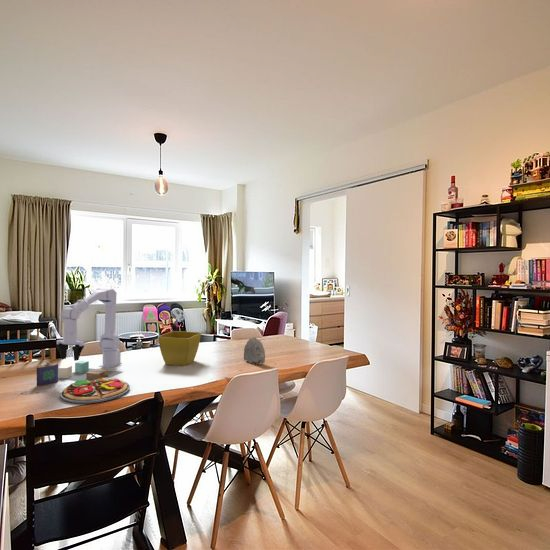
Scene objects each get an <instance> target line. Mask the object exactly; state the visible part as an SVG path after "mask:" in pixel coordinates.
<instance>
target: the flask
mask: <svg viewBox="0 0 550 550" xmlns="http://www.w3.org/2000/svg"><path fill="white" fill-rule="evenodd" d="M58 368H59V364H58V363H51V362H50V361H46V363H45V364H43V365H40V366H37V367H36V386H37V387H42V386H48V385H51V384H56V383H58V382H59V379H58Z"/></svg>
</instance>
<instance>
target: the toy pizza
mask: <svg viewBox="0 0 550 550" xmlns="http://www.w3.org/2000/svg"><path fill="white" fill-rule="evenodd" d="M130 389H131V385H130V384H129V383H127V382H126V381H124V380H122V379H118V378H114V377H110V378H102V379H97V380H93V381H88V380H78V381H74V382H73V383H71V384H69V385H67V386H66V387H65V388H64V389H63V390H62V391H61V392H60V394H59V395H60V398H61V399H63V400H64V401H65V402H68V403H73V404H93V403H101V402H105V401H106V402H107V401H110V400H111V401H112V400H114V399H117V398H119V397H121V396H123V395H125V394H126V393H127V392H128V391H129V390H130Z"/></svg>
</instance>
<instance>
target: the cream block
mask: <svg viewBox="0 0 550 550" xmlns="http://www.w3.org/2000/svg"><path fill="white" fill-rule="evenodd" d="M72 373H73V365H61V366H58V378H68V377H70V376H72Z"/></svg>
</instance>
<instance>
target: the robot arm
mask: <svg viewBox="0 0 550 550" xmlns="http://www.w3.org/2000/svg"><path fill="white" fill-rule="evenodd" d="M117 294H118V293H117V292H116V290H115V289H114V288H96V289H94V290H93V292H92V293H91V294H90V295H88V296H87V297H86V298H84V299H78V300H77V301H76V302H74V303H73V304H70V306H68V307H64V308H63V309H62V310H61V312H60V317H61V320H62V323H63V339H57V340H56V346H55V348H56V349H57V351H58V352H59V355H60V356H59V357H60V358H61V360H62V361H63V360H66V359H67V352H68V347H69V346H72V347H71V349H72V352H73V360H74V361H75V362H78V361H80V356H81V353H82V351H83V349H84V347H85V342H84V341H82V340H78V319H79V318H80V315H81V314H82V313H84V312H85V311H86V310H88V309H89V306H90V305H91V304H93V303H95V302H96V301H99V302H102V303H103V304H104V305H105V312H104V313H105V315H104V333H103V334H102V335H100V340H99V342H98V343H99V344H98V346H99V348H100V349H101V351H102V364H100V365H98V367H100V368H101V367H102V368H113V367H116V366H119V365H121V364H123V362H122V361H121V360H122V359H121V356H122V355H121V354H122V353H121V351H120V350H121V349H119V348H120V346H121V340H120V335H119V334H117V333H116V313H117V312H116V311H117Z"/></svg>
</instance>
